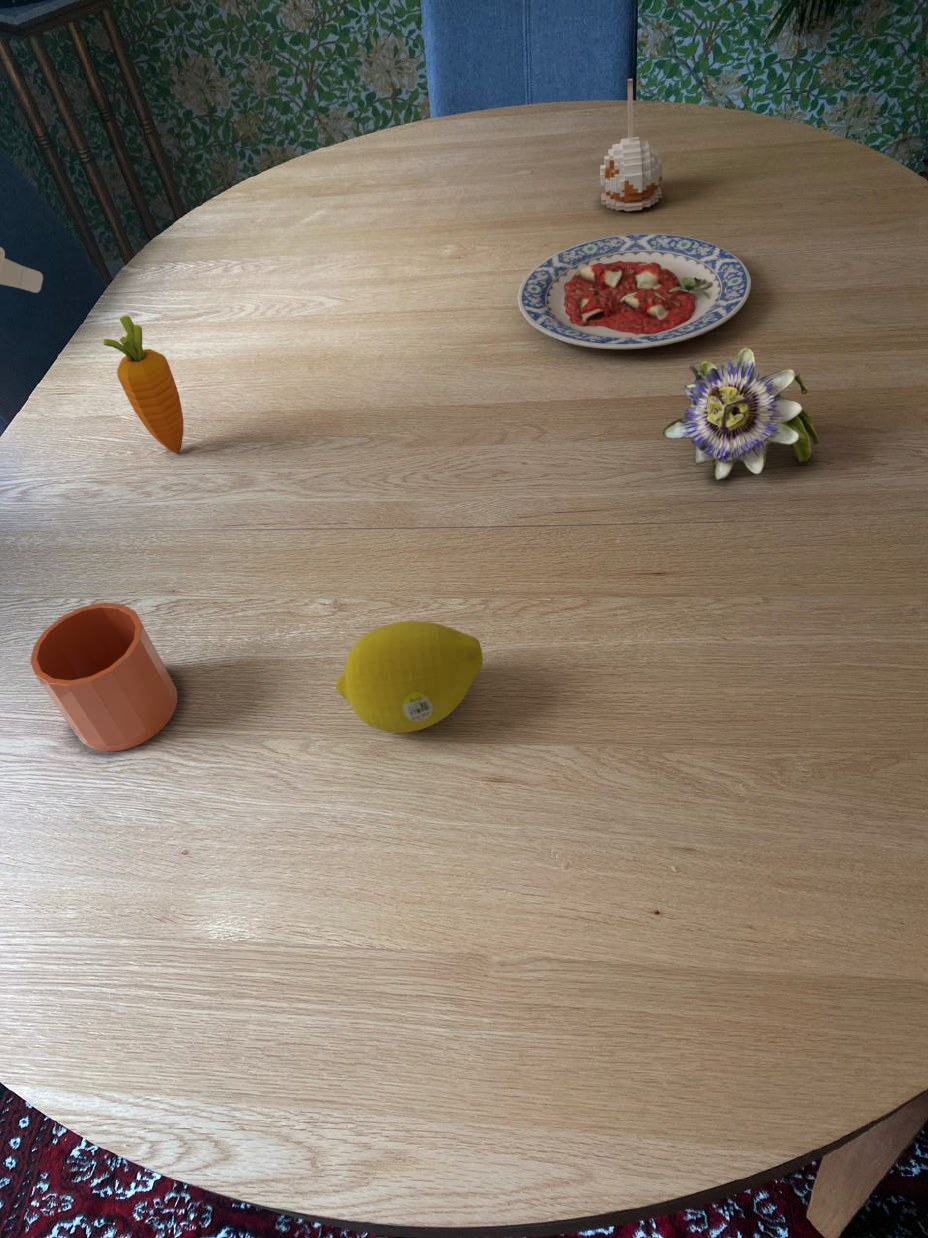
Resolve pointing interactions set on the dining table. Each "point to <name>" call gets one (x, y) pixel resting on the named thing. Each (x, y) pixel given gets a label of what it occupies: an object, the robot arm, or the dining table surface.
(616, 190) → the decorative ornament
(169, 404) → the carrot
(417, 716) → the lemon
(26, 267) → the robot arm
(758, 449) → the passion flower
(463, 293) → the dining table surface
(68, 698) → the pot
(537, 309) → the ceramic plate
